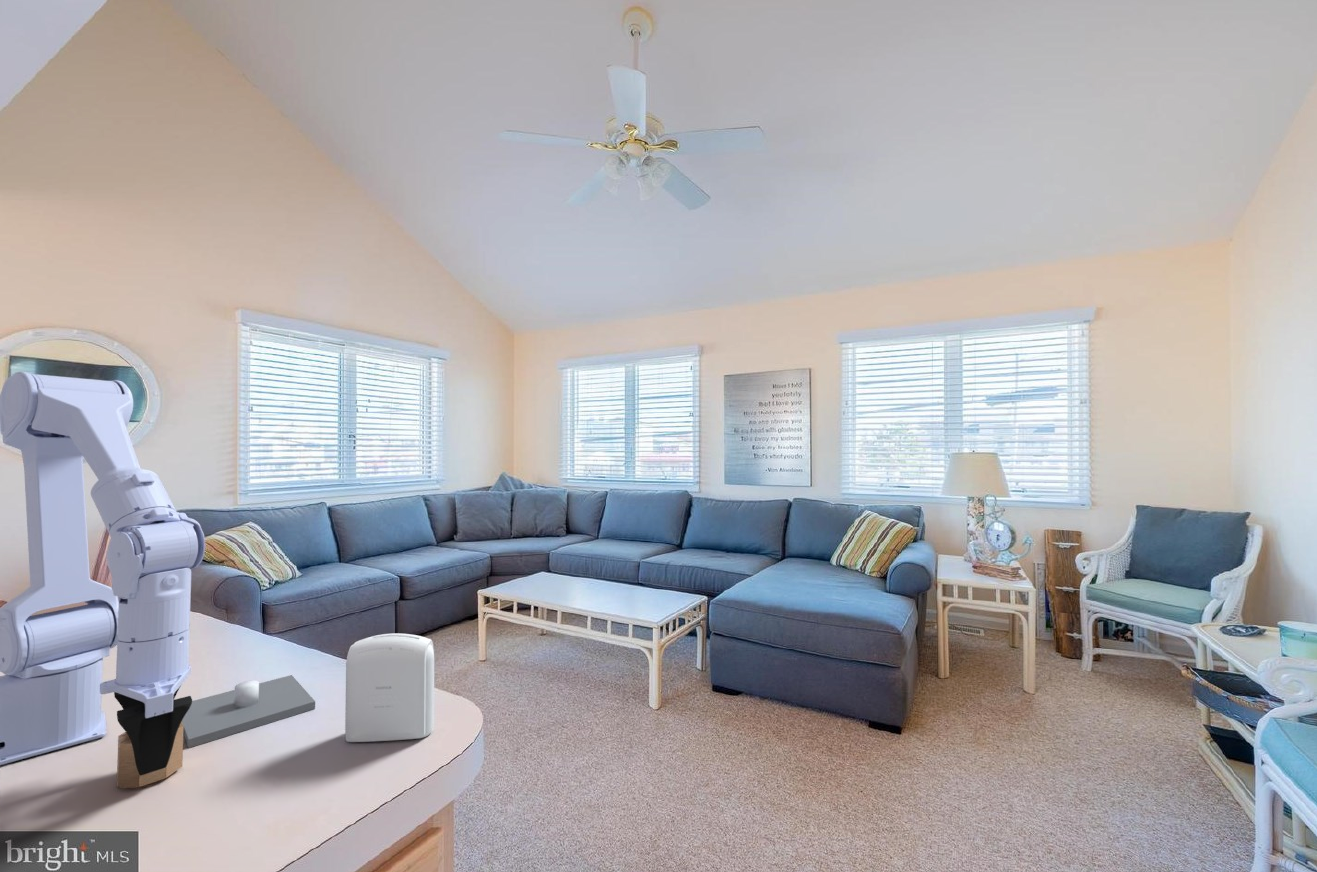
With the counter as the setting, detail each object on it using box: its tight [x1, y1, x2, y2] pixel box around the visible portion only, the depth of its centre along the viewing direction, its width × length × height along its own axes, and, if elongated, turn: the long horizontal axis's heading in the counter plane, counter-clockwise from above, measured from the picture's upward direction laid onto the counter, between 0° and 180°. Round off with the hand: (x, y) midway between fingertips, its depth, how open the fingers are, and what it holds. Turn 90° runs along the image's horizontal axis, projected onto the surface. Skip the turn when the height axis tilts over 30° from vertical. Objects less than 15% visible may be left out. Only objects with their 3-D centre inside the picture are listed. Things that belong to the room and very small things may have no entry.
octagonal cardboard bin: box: [116, 722, 184, 788], centre depth 57 cm, size 5×5×4 cm
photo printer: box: [344, 632, 435, 743], centre depth 66 cm, size 10×4×12 cm, turn 96°
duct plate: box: [182, 674, 316, 749], centre depth 71 cm, size 13×12×4 cm
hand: (150, 759), depth 57 cm, fingers closed on octagonal cardboard bin, 5 cm apart
